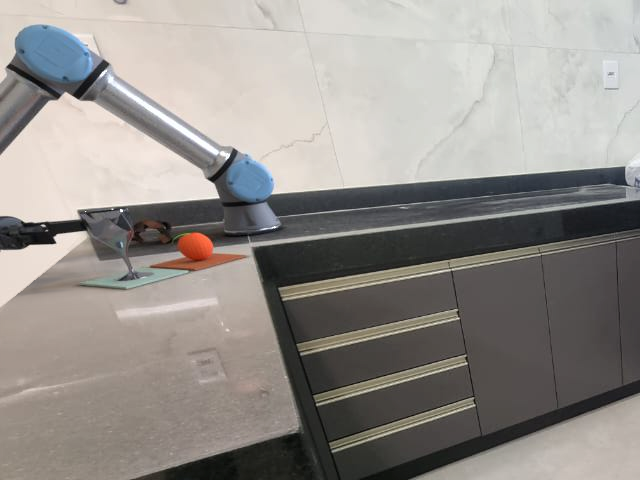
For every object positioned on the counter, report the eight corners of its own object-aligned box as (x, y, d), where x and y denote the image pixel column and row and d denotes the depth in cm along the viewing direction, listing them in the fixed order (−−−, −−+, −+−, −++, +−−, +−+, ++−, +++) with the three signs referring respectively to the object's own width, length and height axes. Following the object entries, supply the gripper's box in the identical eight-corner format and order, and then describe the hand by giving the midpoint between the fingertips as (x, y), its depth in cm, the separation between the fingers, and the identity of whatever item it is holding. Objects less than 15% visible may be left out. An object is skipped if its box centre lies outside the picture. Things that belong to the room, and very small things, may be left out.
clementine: (179, 265, 130) (167, 237, 127) (178, 261, 135) (166, 233, 132) (219, 259, 135) (208, 231, 132) (216, 254, 139) (205, 227, 136)
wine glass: (150, 270, 127) (121, 206, 121) (161, 274, 123) (131, 208, 117) (107, 278, 122) (74, 212, 115) (116, 283, 117) (83, 214, 111)
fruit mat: (203, 254, 143) (202, 252, 143) (246, 256, 138) (245, 255, 138) (150, 267, 132) (149, 265, 132) (195, 270, 127) (194, 268, 127)
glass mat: (143, 269, 130) (142, 267, 130) (188, 272, 126) (187, 270, 126) (80, 285, 119) (79, 282, 119) (126, 289, 115) (125, 287, 114)
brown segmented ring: (159, 247, 156) (131, 225, 152) (143, 261, 160) (114, 239, 155) (188, 228, 165) (162, 207, 161) (172, 241, 169) (146, 220, 164)
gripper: (64, 237, 133) (142, 235, 131) (-60, 264, 110) (31, 262, 109) (49, 207, 130) (128, 204, 128) (-83, 228, 107) (11, 225, 106)
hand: (84, 230), depth 118 cm, fingers open, 13 cm apart
